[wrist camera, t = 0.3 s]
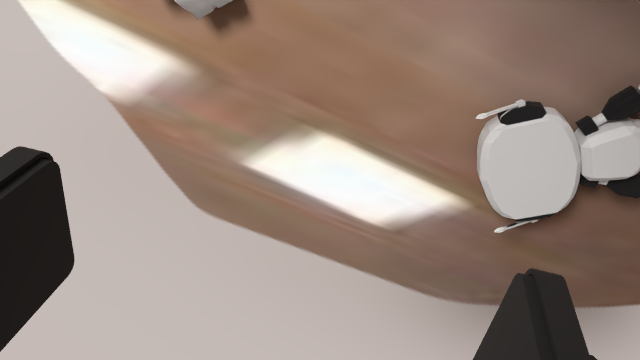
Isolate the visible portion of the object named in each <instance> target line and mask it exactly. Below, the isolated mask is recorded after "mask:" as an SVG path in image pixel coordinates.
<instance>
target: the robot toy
mask: <svg viewBox="0 0 640 360" xmlns="http://www.w3.org/2000/svg"><path fill="white" fill-rule="evenodd" d="M639 111H640V86H639V87H638V88H637V90H636V89H635V88H634V87H632V86H629V87H627V88H626V89H624V90H623V91H621V92H619V93H618V94H616V95H614V96H613V97H611V98H610V99H609V101H608V102H607V104H606V105H605V107H604V108H603V110H602V112H601V113H600V114H598V115H597V116H595V117H593V118H591V117H589V116H586V117H584V118H582V119H581V120H579V121H578V122H576V124H577V126H578V128H577V129H576V131H575V132H573V130H572V128H571V127H570V125H569V124H568V122H567V121H566V120H565V118H564V117H563V116H562V115H561V114H560V113H559V112H558V111H557V110H556V109H554V108H550V107H543V106H542V104H541V103H540V102H530V101H527V102H525V101H524V100H522V99H521V100H518V101H515V103H514V104H511V105H508V106H505V107H502V108H499V109H496V110H493V111H490V112H487V113H482V114H479V115H478V116H477V117H476V119H483V118H486V117H487V116H490V115H493V114H496V113H498V116H496V117H494V118H493V119H491V120H490V121H488V122H487V123H486V124H485V126H484V128H483V129H482V131H481V133H480V137H479V141H478V147H477V171H478V174H479V178H480V180H481V183H482V186H483V188H484V191H485V194H486V196H487V199H488V200H489V202H490V204H491V206H492V207H493V208H494V210H495V211H497V212H498V213H499V214H500V215H502V216H503V217H507V218H512V219H515V220H516V221H520V222H517V223H514V224H511V225H508V226H505V227H500V228H497V229H496V230H495V231H494V232H497V233H500V232H503V231H504V230H507V229H510V228H513V227H516V226H519V225H522V224H525V223H528V222H532V223H533V222H536V221H538V219H543V218H546V217H550V216H552V215H554V214H555V213H557V212H559V211H560V210H562V209H563V208H565V207H566V206H567V205H568V204H569V203H570V201H571V200H572V199H573V197H574V195H575V193H576V191H577V187H578V184H579V181H580V183H581V184H582V185H583V186H589V187H595V186H596V185H597V184H602V185H606V186H607V187H609V188H610V189H611V190H613V191H614V192H616V193H617V194H619V195H623V196H629V197H634V198H639V197H640V175H638V174H637V173H638V172H639V171H640V119H631V118H629V117H631V116H632V115H634V114H636V113H638V112H639ZM580 172H581V174H580Z"/></svg>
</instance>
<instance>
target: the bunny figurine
mask: <svg viewBox="0 0 640 360" xmlns="http://www.w3.org/2000/svg"><path fill="white" fill-rule="evenodd" d="M174 1H175V2H176V3H177V4H179V5H180V6H181V7H182V8H184V9H185V10H187V11H189V12H191V13H193V14H194V15H195V17H196V18H197V20H198V19H200V18H202V17H204V16H205V15H207V14H209V13H211V12H212V11H213V10H214V9H215V8H216V7H217V8H220V7H222V6H224V5H225V4H227V3H229V2H231V1H233V0H174Z"/></svg>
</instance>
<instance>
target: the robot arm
mask: <svg viewBox="0 0 640 360" xmlns="http://www.w3.org/2000/svg"><path fill="white" fill-rule="evenodd" d="M73 265H74V253H73V247H72V241H71V235H70V228H69V223H68V216H67V210H66V204H65V198H64V192H63V186H62V179H61V173H60V168H59V165H58V164H57V163H56V162H54V161H53V157H52V156H51V155H50V154H49V153H47V152H43V151H38V150H35V149H30V148H26V147H16V148H14V149H12V150H10V151H9V152H7V153H6V154H4V155H3V156H2V157H0V351H1V350H2V349H3V348H4V347H5V346H6V345H7V343H9V341H10V340H11V339H12V338H13V337H14V336H15V334H17V332H18V331H19V330H20V329H21V328H22V327H23V326H24V325H25V324H26V322H27V321H28V320H29V319H30V318H31V317H32V316H33V314H34V313H35V312H36V311H37V310H38V309H39V308H40V307H41V306H42V305H43V303H44V302H45V301H46V300H47V299H48V298H49V297H50V296H51V294H52V293H53V292H54V291H55V290H56V289H57V288H58V286H59V285H60V284H61V283H62V282H63V281H64V280H65V279H66V278H67V277H68V275H69V274H70V272H71V270H72V268H73ZM473 360H597V359H596V358H595V357H594V356H592V355H589V353H588V349H587V346H586V343H585V340H584V337H583V334H582V331H581V328H580V325H579V321H578V318H577V315H576V312H575V309H574V306H573V303H572V300H571V297H570V294H569V290H568V287H567V284H566V281H565V279H564V277H563V276H561V275H558V274H554V273H550V272H545V271H541V270H537V269H533V268H532V269H529V270H528V271H527V272H526V273H525V274H521V273H518V274H516V275H515V277H514V279H513V281H512V283H511V285H510V287H509V289H508V291H507V293H506V295H505V297H504V299H503V301H502V303H501V305H500V307H499V309H498V311H497V313H496V315H495V317H494V319H493V321H492V322H491V324H490V326H489V329H488V331H487V333H486V334H485V337H484V338H483V340H482V342H481V345H480V346H479V349H478V350H477V352H476V354H475V357H474V358H473Z"/></svg>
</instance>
